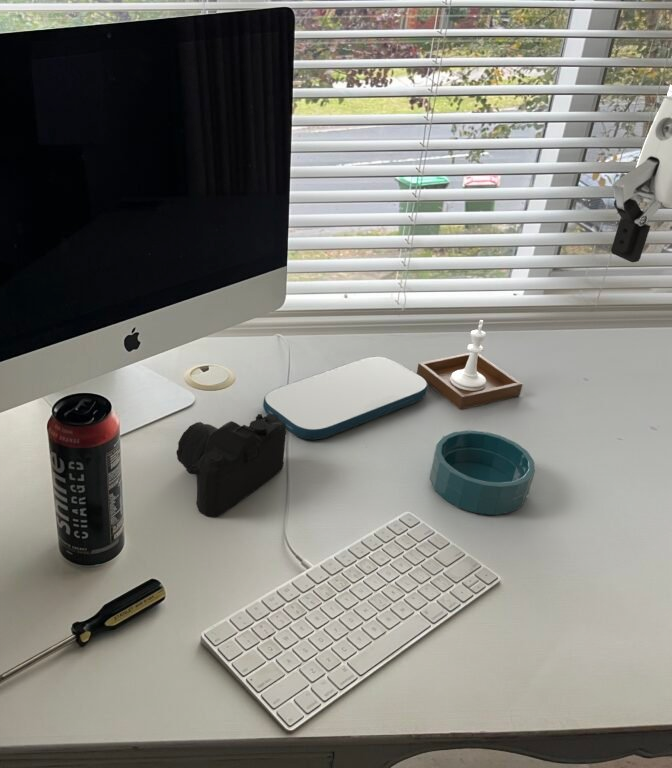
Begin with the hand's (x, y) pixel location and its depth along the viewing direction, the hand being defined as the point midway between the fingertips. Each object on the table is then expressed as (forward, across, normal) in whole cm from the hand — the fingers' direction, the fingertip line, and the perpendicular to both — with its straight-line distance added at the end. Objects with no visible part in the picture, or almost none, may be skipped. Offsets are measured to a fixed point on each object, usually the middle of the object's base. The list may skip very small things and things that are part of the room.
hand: (659, 251), depth 85 cm
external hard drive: (+28, -21, +23) cm, 42 cm away
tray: (+28, -2, +21) cm, 35 cm away
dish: (+28, -16, +1) cm, 33 cm away
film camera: (+28, -44, +13) cm, 54 cm away
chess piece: (+28, -2, +21) cm, 35 cm away
